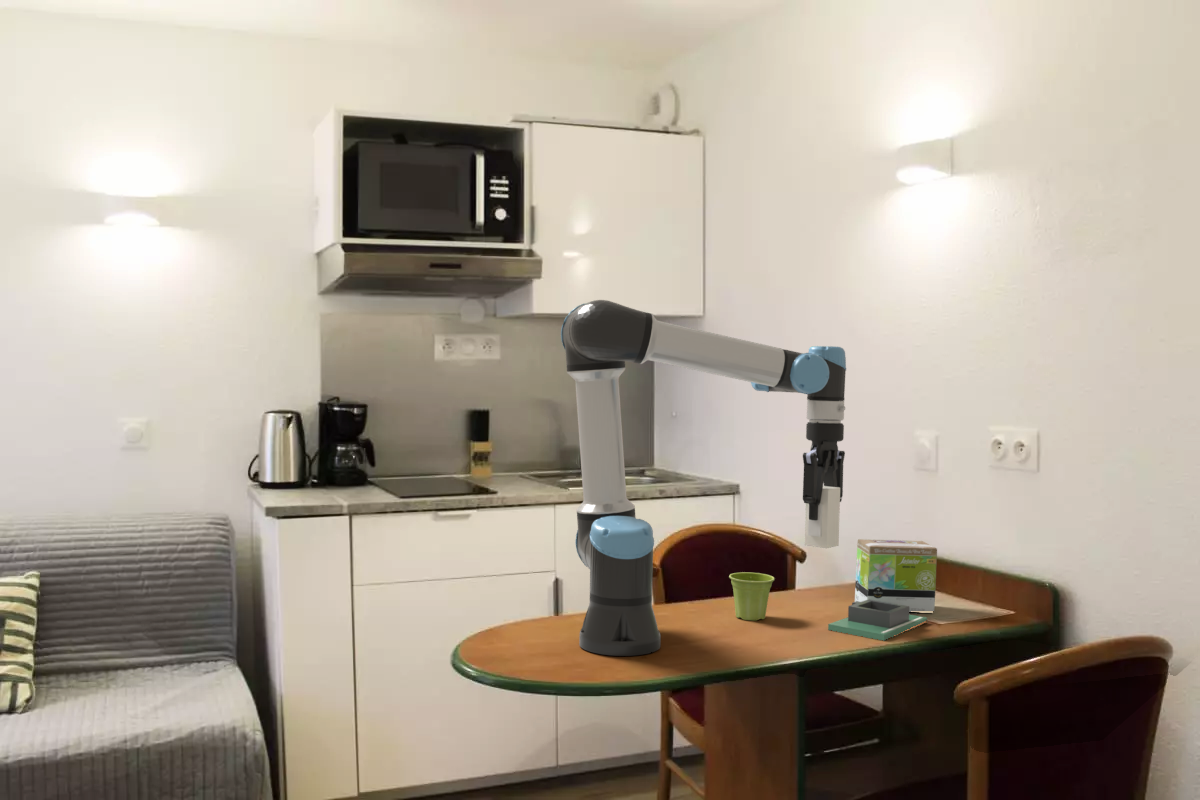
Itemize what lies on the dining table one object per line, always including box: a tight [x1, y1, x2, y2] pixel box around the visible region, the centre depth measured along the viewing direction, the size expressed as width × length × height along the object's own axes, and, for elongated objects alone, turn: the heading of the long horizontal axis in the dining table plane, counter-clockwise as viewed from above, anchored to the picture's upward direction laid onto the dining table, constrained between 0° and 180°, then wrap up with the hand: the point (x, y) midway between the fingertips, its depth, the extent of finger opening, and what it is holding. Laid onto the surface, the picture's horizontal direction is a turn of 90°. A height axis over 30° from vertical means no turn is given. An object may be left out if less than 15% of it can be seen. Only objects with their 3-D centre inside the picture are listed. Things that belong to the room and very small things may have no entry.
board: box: [827, 599, 928, 642], centre depth 214 cm, size 20×12×4 cm, turn 139°
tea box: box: [854, 538, 938, 612], centre depth 231 cm, size 15×10×15 cm, turn 92°
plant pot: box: [728, 571, 775, 621], centre depth 220 cm, size 9×9×9 cm
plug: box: [804, 485, 841, 549], centre depth 216 cm, size 5×6×12 cm
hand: (821, 534), depth 215 cm, fingers closed on plug, 5 cm apart
